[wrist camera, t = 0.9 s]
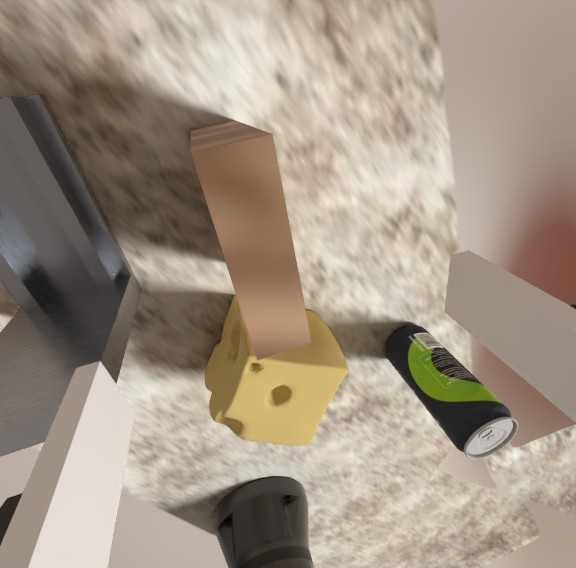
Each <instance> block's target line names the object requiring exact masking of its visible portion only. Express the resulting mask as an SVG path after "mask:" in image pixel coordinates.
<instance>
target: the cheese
mask: <svg viewBox="0 0 576 568" xmlns="http://www.w3.org/2000/svg"><path fill="white" fill-rule="evenodd" d="M306 315H307V321H308V326H309V331H310V337H311V342H312V343H310V344H306V345H303V346H300V347H297V348H294V349H291V350H288V351H285V352H282V353H279V354H276V355H273V356H270V357H267V358H264V359H261V360H258V361H257V358H256V355H255V352H254V348H253V345H252V342H251V339H250V336H249V333H248V330H247V327H246V324H245V320H244V317H243V314H242V311H241V308H240V305H239V302H238V299H237V296H234V297H233V300H232V302H231V305H230V308H229V311H228V314H227V317H226V319H225V323H224V326H223V332H222V338H221V341H220V343H217V344H216V346H215V348H214V350H213V353H212V355H211V357H210V359H209V361H208V364H207V366H206V370H205V384H206V388H207V389H209V390H210V391H211V392H212V394H211V399H210V404H209V406H210V414H211V417H212V418H213V420H214V421H215V422H218V423H222V424H225V425H226V426H228V427H229V428H230V429H231V430H232V431H233V432H234V433H235V434H236V435H237V436H238V437H240V438H242V439H244V440H248V441H256V442H266V443H272V444H280V445H289V446H299V445H309V444H310V442H311V440H312V438H313V436H314V433H315V431H316V429H317V426H318V424H319V422H320V420H321V418H322V416H323V414H324V412H325V410H326V408H327V406H328V405H329V403H330V401H331V399H332V397H333V395H334V394H335V392H336V390H337V388H338V387H339V385H340V383H341V382H342V380H343V378H344V377H345V375H346V374H347V372H348V367H347V364H346V362H345V359H344V356H343V354H342V351H341V349H340V346H339V344H338V343H337V341H336V339H335V337H334V336H333V334H332V333H331V331H330V330H329V328H328V327H327V325H326V324H325V322H324V321H323V320H322V319H321V318H320V317H319V316H318V315H317V314H316V313H315V312H313V311H309V310H306Z"/></svg>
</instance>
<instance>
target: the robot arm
mask: <svg viewBox="0 0 576 568" xmlns="http://www.w3.org/2000/svg"><path fill="white" fill-rule="evenodd" d="M444 312H445V313H447V314H448V315H449V316H450V317H451V318H453V319H454V320H455V321H456V322H457V323H458V324H460V325H461V326H462V327H463V328H464V329H466V330H467V331H468V332H469V333H470V334H471V335H473V336H474V337H475V338H476V339H477V340H479V341H480V342H481V343H482V344H483V345H485V346H486V347H487V348H488V349H489V350H490V351H492V352H493V353H494V354H495V355H496V356H498V357H499V358H500V359H501V360H502V361H503V362H505V363H506V364H507V365H508V366H509V367H511V368H512V369H513V370H514V371H515V372H516V373H518V374H519V375H520V376H521V377H523V378H524V379H525V380H526V381H527V382H528V383H530V384H531V385H532V386H533V387H534V388H535V389H537V390H538V391H539V392H540V393H541V394H543V395H544V396H545V397H546V398H547V399H549V400H550V401H551V402H552V403H553V404H555V405H556V406H557V407H558V408H559V409H560V410H561V411H563V412H564V413H565V414H566V415H567V416H569V417H570V418H571V419H572V420H573V421H575V422H576V305H574V304H573V305H570V306H569V305H567V304H565V303H563V302H562V301H560V300H558V299H556V298H554V297H553V296H551V295H549V294H547V293H545V292H543V291H542V290H540V289H538V288H536V287H534V286H532V285H531V284H529V283H527V282H525V281H523V280H522V279H520V278H518V277H516V276H514V275H513V274H511V273H509V272H507V271H505V270H504V269H502V268H500V267H498V266H496V265H494V264H493V263H491V262H489V261H487V260H485V259H483V258H482V257H480V256H478V255H476V254H474V253H472V252H471V251H469V250H468V251H464V252H461V253H458V254H454V255H451V259H450V268H449V277H448V285H447V294H446V302H445V311H444ZM134 417H135V410H134V409H133V408H132V406H131V405H130V403H129V402H128V400H127V399H126V397H125V396H124V395H123V393H122V392H121V390H120V389H119V387H118V386H117V384H116V383H115V382H114V380H113V379H112V377H111V376H110V374H109V373H108V372H107V370H106V369H105V367H104V366H103V364H102V363H101V361H98V362H95V363H91V364H88V365H85V366H81V367H78V368H76V370H75V372H74V374H73V377H72V379H71V381H70V384H69V386H68V388H67V391H66V393H65V396H64V398H63V400H62V403H61V405H60V407H59V410H58V412H57V414H56V417H55V419H54V421H53V424H52V426H51V428H50V431H49V433H48V435H47V438H46V440H45V442H44V445H43V447H42V449H41V452H40V454H39V456H38V459H37V461H36V463H35V466H34V468H33V471H32V473H31V475H30V478H29V480H28V482H27V485H26V487H25V489H24V492H23V493H22V494H19V495H16V496H13V497H10V498H7V500H6V501H5V502H4V504H3V505H2V506H1V508H0V568H108V563H109V557H110V552H111V546H112V540H113V535H114V529H115V524H116V518H117V512H118V507H119V501H120V496H121V490H122V485H123V479H124V473H125V468H126V462H127V457H128V451H129V445H130V440H131V434H132V429H133V423H134ZM215 531H216V536H217V538H218V541H219V543H220V546H221V549H222V552H223V554H224V557H225V559H226V562H227V565H228V568H314V566H313V562H312V558H311V554H310V551H309V545H308V501H307V498H306V494H305V491H304V488H303V486H302V485H301V484H300V483H299V482H298V481H296V480H293V479H290V478H284V477H273V478H266V479H261V480H257V481H254V482H251V483H249V484H246V485H244V486H242V487H240V488H238V489H236V490H235V491H233V492H232V493H230V494H229V495H228V496H226V497H225V498H224V499H223V500H222V501H221V503H220V504H219V505H218V507H217V509H216V511H215Z"/></svg>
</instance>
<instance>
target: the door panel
mask: <svg viewBox="0 0 576 568" xmlns="http://www.w3.org/2000/svg"><path fill="white" fill-rule="evenodd" d="M191 156H192V159H193V162H194V165H195V168H196V171H197V174H198V177H199V180H200V184H201V187H202V190H203V193H204V196H205V199H206V202H207V205H208V208H209V212H210V215H211V218H212V221H213V224H214V227H215V230H216V233H217V236H218V240H219V243H220V246H221V249H222V252H223V255H224V258H225V261H226V264H227V268H228V271H229V274H230V277H231V280H232V283H233V286H234V289H235V292H236V296H237V299H238V302H239V305H240V308H241V311H242V314H243V317H244V320H245V324H246V327H247V330H248V333H249V336H250V339H251V342H252V345H253V348H254V352H255V355H256V358H257V361H258V360H261V359H264V358H267V357H270V356H273V355H276V354H279V353H282V352H285V351H288V350H291V349H294V348H297V347H300V346H303V345H306V344H310V343H312V342H311V337H310V331H309V326H308V321H307V315H306V310H305V305H304V299H303V294H302V289H301V283H300V278H299V273H298V267H297V262H296V257H295V252H294V246H293V241H292V236H291V230H290V225H289V220H288V214H287V209H286V204H285V198H284V193H283V188H282V182H281V177H280V172H279V166H278V161H277V156H276V151H275V145H274V140H273V135H272V134H271V133H268V132H265V131H262V130H260V129H257V128H254V127H251V126H249V125H246V124H243V123H240V122H238V121H235V120H233V121H229V122H224V123H220V124H215V125H211V126H207V127H202V128H198V129H193V130H191Z"/></svg>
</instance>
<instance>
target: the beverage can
mask: <svg viewBox="0 0 576 568" xmlns="http://www.w3.org/2000/svg"><path fill="white" fill-rule="evenodd" d="M386 356H387V358H388V360H389V361H390V362H391V363H392V365H393V366H394V367H395V369H396V370H397V371H398V373H399V374H400V375H401V376H402V378H403V379H404V380H405V382H406V383H407V384H408V385H409V387H410V388H411V389H412V391H413V392H414V393H415V395H416V396H417V397H418V398H419V400H420V401H421V402H422V404H423V405H424V406H425V407H426V409H427V410H428V411H429V413H430V414H431V415H432V416H433V418H434V419H435V420H436V422H437V423H438V424H439V426H440V427H441V428H442V429H443V431H444V432H445V433H446V435H447V436H448V437H449V438H450V440H451V441H452V442H453V444H454V445H455V446H456V447H457V448H458V449H459V450H460V451H462V452H465V455H466V456H467V457H468V458H470V459H480V458H484V457H487V456H490V455H492V454H494V453H495V452H497V451H499V450H500V449H502V448H503V447H504V446H505V445H507V444H508V443H509V442H510V441H511V440H512V438H513V437H514V436H515V434H516V432H517V430H518V422H517V421H516V420H515V419H514V418H512V417H511V413H510V411H509V409H508V408H507V407H506V406H504V404H503V403H501V402H500V401H499V400H498V399H497V398H496V397H495V396H494V395H493V394H492V393H491V392H490V391H489V390H488V389H487V388H486V387H485V386H484V385H483V384H482V383H481V382H480V381H479V380H478V379H476V378H475V377H474V376H473V375H472V374H471V373H470V372H469V371H468V370H467V369H466V368H465V367H464V366H463V365H462V364H461V363H460V362H459V361H458V360H457V359H456V358H455V357H454V356H453V355H451V354H450V353H449V352H448V351H447V350H446V349H445V348H444V347H443V346H442V345H441V344H440V343H439V342H438V341H437V340H436V339H435V338H434V337H433V336H432V335H431V334H430V333H429V332H428V331H426V330H425V329H424V328H423V327H420V326H405V327H402V328H400V329H398V330H397V331H396V332H394V333H393V334H392V335H391V337H390V338H389V340H388V342H387V345H386Z"/></svg>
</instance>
